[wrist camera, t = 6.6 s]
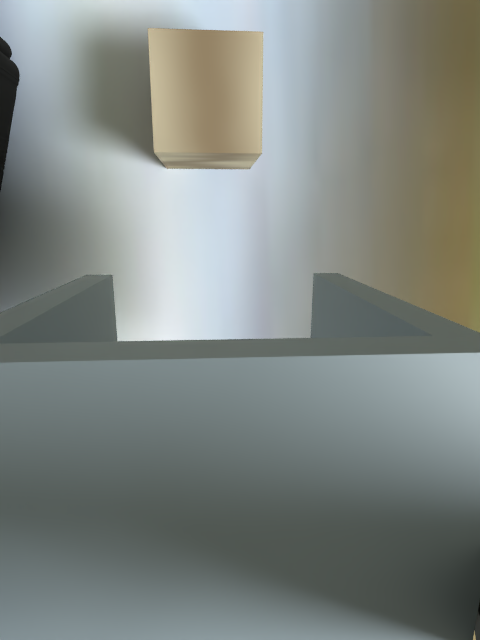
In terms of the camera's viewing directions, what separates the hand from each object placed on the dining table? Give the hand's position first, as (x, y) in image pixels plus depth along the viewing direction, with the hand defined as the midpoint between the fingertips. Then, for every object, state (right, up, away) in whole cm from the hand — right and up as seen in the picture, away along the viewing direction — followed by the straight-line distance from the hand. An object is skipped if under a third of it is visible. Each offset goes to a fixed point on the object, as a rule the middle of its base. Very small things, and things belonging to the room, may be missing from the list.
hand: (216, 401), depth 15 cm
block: (-1, +15, +9) cm, 17 cm away
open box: (0, 0, +1) cm, 1 cm away
